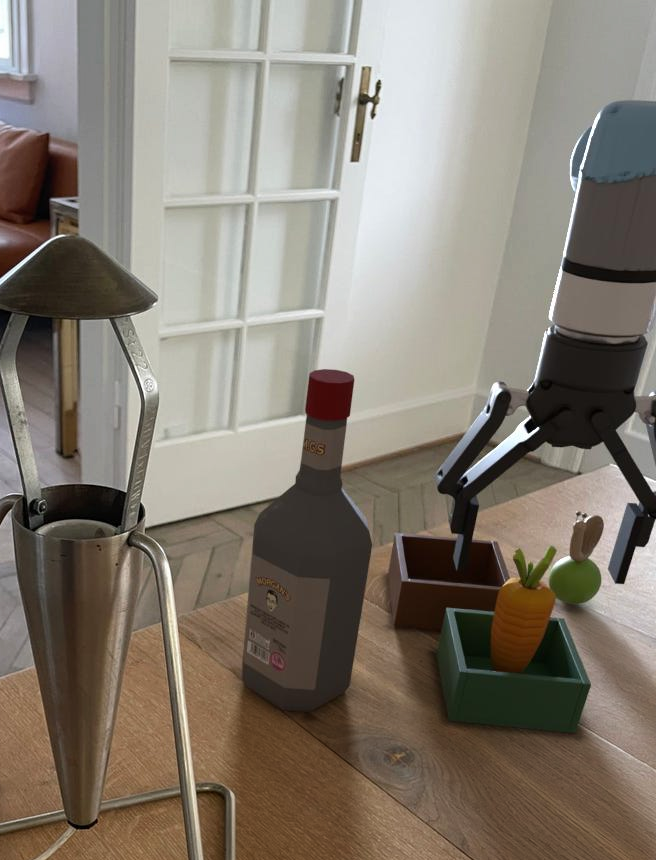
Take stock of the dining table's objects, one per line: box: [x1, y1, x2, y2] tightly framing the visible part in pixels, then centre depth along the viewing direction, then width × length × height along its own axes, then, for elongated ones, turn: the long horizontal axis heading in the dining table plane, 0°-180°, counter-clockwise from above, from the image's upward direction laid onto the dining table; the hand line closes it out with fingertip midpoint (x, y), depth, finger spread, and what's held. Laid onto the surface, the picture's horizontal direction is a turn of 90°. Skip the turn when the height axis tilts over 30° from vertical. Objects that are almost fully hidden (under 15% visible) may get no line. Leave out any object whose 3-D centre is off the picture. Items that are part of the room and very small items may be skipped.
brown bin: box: [387, 532, 511, 631], centre depth 106 cm, size 11×11×6 cm
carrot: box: [491, 545, 558, 674], centre depth 89 cm, size 5×5×15 cm
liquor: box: [241, 368, 373, 713], centre depth 85 cm, size 9×9×30 cm
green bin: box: [435, 608, 592, 734], centre depth 92 cm, size 11×11×6 cm
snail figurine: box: [548, 510, 605, 605], centre depth 105 cm, size 5×6×12 cm
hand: (536, 571), depth 86 cm, fingers open, 13 cm apart
